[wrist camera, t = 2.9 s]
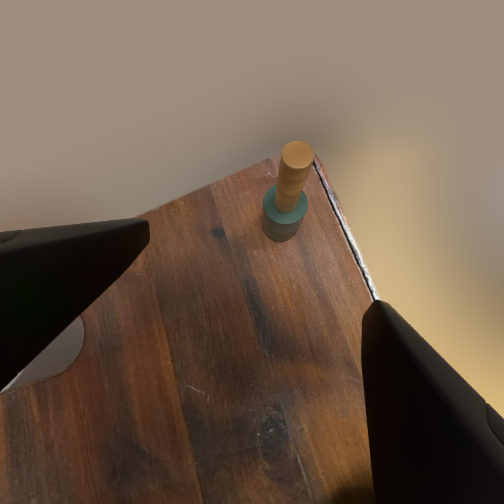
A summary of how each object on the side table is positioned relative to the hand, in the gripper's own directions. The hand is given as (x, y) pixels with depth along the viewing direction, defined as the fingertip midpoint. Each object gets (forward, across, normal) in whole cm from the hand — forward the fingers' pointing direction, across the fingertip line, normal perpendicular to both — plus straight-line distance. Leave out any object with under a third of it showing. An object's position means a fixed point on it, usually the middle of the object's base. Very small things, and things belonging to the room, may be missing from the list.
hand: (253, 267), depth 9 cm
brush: (+14, 0, +4) cm, 15 cm away
